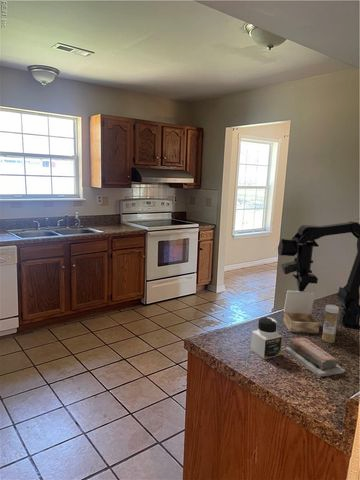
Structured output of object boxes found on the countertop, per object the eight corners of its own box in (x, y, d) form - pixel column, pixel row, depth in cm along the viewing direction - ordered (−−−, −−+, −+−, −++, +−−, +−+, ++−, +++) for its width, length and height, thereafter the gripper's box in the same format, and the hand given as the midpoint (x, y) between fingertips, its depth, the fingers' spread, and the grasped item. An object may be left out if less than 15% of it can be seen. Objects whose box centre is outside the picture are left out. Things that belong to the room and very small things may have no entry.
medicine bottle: (264, 359, 113) (267, 325, 110) (250, 350, 119) (252, 317, 117) (280, 355, 116) (283, 321, 114) (266, 346, 122) (268, 314, 120)
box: (309, 322, 144) (310, 313, 144) (318, 333, 134) (319, 323, 134) (283, 321, 145) (284, 312, 144) (290, 331, 135) (291, 322, 134)
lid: (310, 313, 144) (310, 312, 144) (315, 292, 140) (314, 291, 140) (283, 312, 144) (283, 311, 144) (287, 291, 140) (287, 290, 141)
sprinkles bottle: (319, 340, 128) (323, 306, 126) (323, 336, 132) (327, 303, 129) (332, 344, 125) (337, 309, 123) (336, 340, 129) (340, 306, 126)
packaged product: (284, 337, 120) (308, 334, 123) (283, 350, 120) (306, 347, 124) (320, 364, 103) (347, 359, 106) (318, 378, 104) (345, 374, 107)
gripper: (278, 250, 148) (275, 285, 151) (290, 260, 130) (286, 300, 132) (304, 252, 148) (300, 286, 150) (320, 262, 129) (315, 301, 132)
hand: (300, 293), depth 141 cm, fingers closed
